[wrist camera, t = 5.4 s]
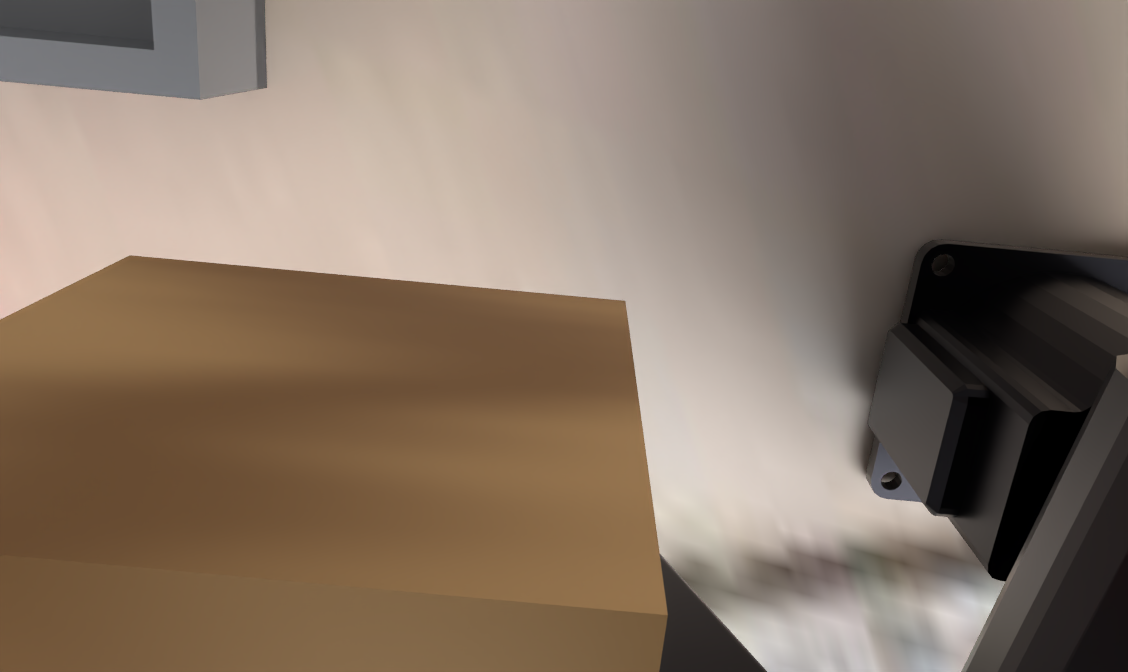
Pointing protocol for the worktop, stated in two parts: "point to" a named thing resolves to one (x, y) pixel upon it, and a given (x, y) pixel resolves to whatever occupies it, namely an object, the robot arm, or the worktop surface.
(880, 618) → the worktop surface
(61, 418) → the wooden cube
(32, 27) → the tray
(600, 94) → the worktop surface
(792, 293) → the worktop surface
